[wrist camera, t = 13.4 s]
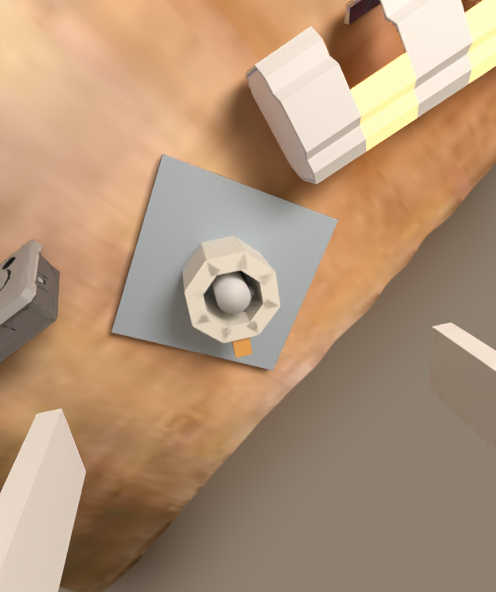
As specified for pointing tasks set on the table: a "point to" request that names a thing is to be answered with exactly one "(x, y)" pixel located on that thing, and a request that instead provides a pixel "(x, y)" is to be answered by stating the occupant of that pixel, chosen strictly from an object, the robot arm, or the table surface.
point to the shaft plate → (211, 220)
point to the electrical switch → (26, 297)
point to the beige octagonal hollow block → (205, 310)
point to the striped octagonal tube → (369, 82)
